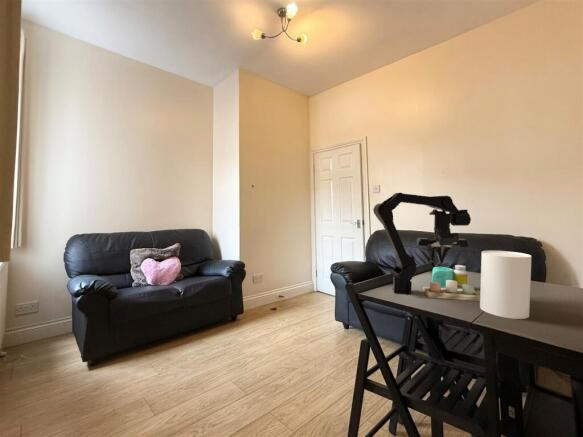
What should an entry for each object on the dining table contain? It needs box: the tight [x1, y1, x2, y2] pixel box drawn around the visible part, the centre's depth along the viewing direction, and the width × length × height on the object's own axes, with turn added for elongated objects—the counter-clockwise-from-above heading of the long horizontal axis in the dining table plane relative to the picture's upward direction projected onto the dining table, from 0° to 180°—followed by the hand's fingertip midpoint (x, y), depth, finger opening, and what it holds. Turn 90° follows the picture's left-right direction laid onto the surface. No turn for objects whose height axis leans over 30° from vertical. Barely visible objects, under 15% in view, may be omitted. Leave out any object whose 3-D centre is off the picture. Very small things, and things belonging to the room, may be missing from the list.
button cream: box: [446, 280, 458, 293], centre depth 113 cm, size 4×4×4 cm
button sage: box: [462, 283, 475, 295], centre depth 111 cm, size 4×4×4 cm
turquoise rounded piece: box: [431, 266, 454, 288], centre depth 126 cm, size 8×8×8 cm
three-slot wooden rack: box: [422, 286, 480, 302], centre depth 113 cm, size 19×10×2 cm, turn 75°
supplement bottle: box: [453, 264, 468, 289], centre depth 123 cm, size 5×5×10 cm
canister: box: [479, 250, 532, 320], centre depth 96 cm, size 14×14×20 cm
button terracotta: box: [429, 281, 441, 293], centre depth 114 cm, size 4×4×4 cm
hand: (441, 262), depth 117 cm, fingers closed
